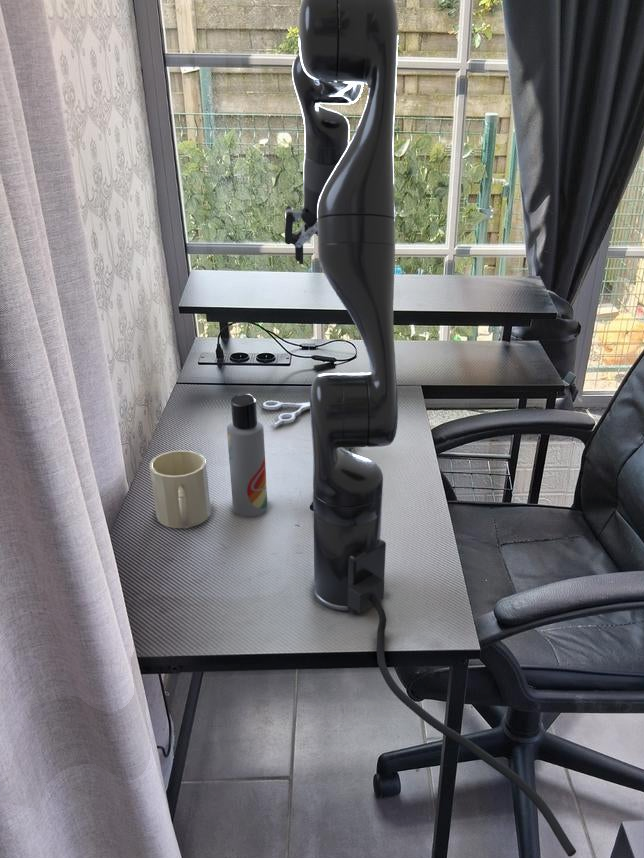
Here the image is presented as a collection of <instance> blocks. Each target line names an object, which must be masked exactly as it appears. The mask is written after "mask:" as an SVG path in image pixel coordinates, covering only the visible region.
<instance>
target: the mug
mask: <svg viewBox="0 0 644 858" xmlns="http://www.w3.org/2000/svg"><path fill="white" fill-rule="evenodd" d="M148 465H149V474H150V481H151V487H152V488H151V489H152V495H153V501H154V502H153V503H154V509H155V516H156V520H157V521H158V523H160V525H162V526H165V527H168V528H171V529H188V528H193V527H196V526H198V525H201V524H203V523H204V522H205V521H207V520H208V519H209V518H210V516H211V500H210V490H209V479H208V470H207V461H206V457H204V456H203V454H201V453H200V452H196V451H193V450H186V449H179V450H169V451H166V452H163V453H160V454H158V455H157V456H154V457H153V458H152V459H151V461H150V462H149V464H148Z"/></svg>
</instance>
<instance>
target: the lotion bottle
mask: <svg viewBox="0 0 644 858" xmlns="http://www.w3.org/2000/svg"><path fill="white" fill-rule="evenodd" d="M230 410H231V420H232V421H231V422H229V423H228V425H227V426H226V436H227V448H228V462H229V473H230V474H229V475H230V487H231V498H232V499H231V500H232V508H233V511H234V512H235V513H236V514H238V515H239V516H241V517H242V516H243V517H256V516H259V515H262V514H263V513H265V512H266V511H267V508H268V489H267V485H268V484H267V466H266V448H265V447H266V445H265V429H264V424H263V423H262V422H260V421H259V420H258V411H257V410H258V408H257V400H256V398H254V396H253V395H252V394H250V393H242V394H238V395H233V397H232V398H231V400H230Z"/></svg>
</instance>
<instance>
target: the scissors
mask: <svg viewBox="0 0 644 858" xmlns="http://www.w3.org/2000/svg"><path fill="white" fill-rule="evenodd" d="M286 407H287V408H288V407H289V408H298V410H296V411H293V412H283V413H281V414H280V415H278V417H277V419H278V420H277V421H276V422H274V423H273V427H274V428H278V427H279V426H280V425H282V424H290V423H293V422H294V421H295V420H296V416H298V415H300V414H301V413H302V412H304V411H306V410H310V401H307V402H296V403H295V402H281V401H278V400H267V401H264V402H263V403H262V408H263V409H264V410H269V411H270V410H272V411H273V410H275V411H276V410H279V409H280V408H286ZM285 418H286V419H285Z"/></svg>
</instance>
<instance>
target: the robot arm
mask: <svg viewBox="0 0 644 858" xmlns="http://www.w3.org/2000/svg"><path fill="white" fill-rule="evenodd" d="M299 9H300V10H299V17H298V47H299V49H298V50H299V53H298V54H297V55H296V57H295V58H294V60H293V63H292V69H291V72H292V73H291V75H292V81H293V85H294V86H293V87H294V90H295V93H296V96H297V100H298V102H299V105H300V110H301V114H302V119H303V125H304V126H303V127H304V159H303V171H302V177H303V207H302V208H301V209H294V208H293V207H292V206H291V205H287V206H286V207H285V218H284V243H285V244H286V245H293V246H294V254H295V256H294V257H295V260H296V262H299V265H304V245H305V243H306V242H307V241H310V240H311V238H312V237H313V236H314V235H316V236H317V256H318V262H319V265H320V268H321V270H322V272H323V275H324V276H325V278H326V280H327V282H328V284H329V285H330V286H331V288H332V290H333V291H334V293H335V295H336V296H337V297H338V299H339V301H340V302H341V304H342V305H343V307H344V309H345V310H346V312H347V313H348V315H349V316H350V318H351V319H352V321H353V323H354V325H355V328H356V330H357V331H358V333H359V335H360V338H361V339H362V341H363V344H364V347H365V350H366V354H367V356H368V361H369V369H370V371H369V372H332V373H327V372H326V373H319V374H318V375H316V376H315V378H314V379H313V380H312V383H311V387H310V392H309V402H310V408H309V415H310V428H311V429H310V430H311V441H312V462H313V463H312V464H313V465H312V466H313V467H312V470H313V471H312V472H313V473H312V489H313V490H312V497H313V500H312V502H313V511H312V512H313V514H312V515H313V570H314V571H313V579H314V580H313V581H314V582H313V595H314V597H315V599H316V600H317V601H318V602H319V603H320V604H321V605H322V606H324V607H326V608H329V609H331V610H335V611H340V612H348V613H350V614H351V615H356V614H357V613H359V614H361V613H363V612H364V611H366V610H367V609H369V608H370V607H372V606H373V607H374V609H375V611H376V613H377V616H378V625H377V629H376V630H377V632H376V662H377V666H378V669H379V671H380V673H381V675H382V678H383V680H384V682H385V683H386V685H387V687H388V688H389V690H390V691H391V692H392V693H393V694H394V696H396V698H397V699H398V700H400V701H401V702H402V703H403V704H404V705H405V706H406V707H407V708H408V709H409V710H411V711H412V712H413V713H414V714H415V715H417V716H418V717H419V718H420V719H421V720H423V721H424V722H425V723H427V724H428V725H429V726H430V727H432V728H433V729H435V730H436V731H438V732H439V733H440V734H442V735H444V736H445V737H446V738H449V739H450V740H452V741H453V742H455V743H456V744H458V745H460V746H461V747H463V748H465V749H466V750H467V751H469V752H470V753H471V754H473V755H475V756H476V757H477V758H478V759H480V760H481V761H483V762H484V763H485V764H487V765H488V766H490V767H491V768H492V769H494V770H496V771H497V772H498V773H500V774H501V775H502V776H504V777H505V778H506V779H508V780H509V781H511V783H512V784H514V785H515V787H517V788H518V789H519V790H520V791H522V793H523V794H524V795H525V796H526V797H527V798H528V799H529V800H530V801H531V802H532V803H533V805H534V806H535V807H536V808H537V809H538V811H539V812H540V813H541V815H542V816H543V818H544V819H545V821H546V822H547V824H548V826H549V827H550V829H551V831H552V833H553V834H554V836H555V838H556V840H557V841H558V843H559V844H560V846H561V847H562V849H563V851H564V852H565V854H566V855H567V857H568V858H571V857H573V856H574V855H576V853H577V849H576V848H575V846H574V845H573V844H572V842H571V841H570V839H569V837H568V836H567V834H566V832H565V831H564V829H563V827H562V826H561V824H560V822H559V821H558V819H557V818H556V816H555V815H554V812H553V811H552V810H551V809H550V807H549V806H548V804H547V803H546V802H545V801H544V799H543V798H542V797H541V796H540V795H539V794H538V793H537V791H536V790H534V788H533V787H532V786H531V785H530V784H529V783H528V782H527V781H526V780H524V778H522V777H521V776H520V775H518V773H516V772H515V771H513V770H512V769H511V768H510V767H508V766H507V765H506V764H504V763H502V761H500V760H499V759H497V758H496V757H494V756H493V755H491V754H490V753H489V752H487V751H486V750H484V749H483V748H482V747H480V746H479V745H477V744H475V743H474V742H473V741H471V740H470V739H469V738H467V737H465V736H464V735H462V734H461V733H459V732H458V731H456V730H454V729H452V728H451V727H449V726H447V725H446V724H444V723H443V722H441V721H440V720H438V719H437V718H435V717H434V716H433V715H432V714H430V713H429V712H428V711H427V710H426V709H424V708H423V707H422V706H420V705H419V704H418V703H417V702H415V701H414V700H413V699H412V698H411V697H410V696H409V695H408V694H406V692H405V691H403V690H402V689H401V687H400V686H399V685H398V684H397V683H396V681H395V680H394V678H393V677H392V675H391V673H390V671H389V669H388V665H387V663H386V657H385V638H386V635H385V632H386V628H387V615H386V611H385V609H384V607H383V604H382V603H381V602H380V601H381V600H383V599H384V598H385V569H386V554H387V553H386V552H387V543H386V541H385V540H383V539H381V537H382V536H381V533H382V513H383V512H382V511H383V489H384V475H383V471H382V469H381V468H380V466H379V465H378V464H377V462H375V461H373V460H371V459H370V458H368V457H365V456H363V455H360V454H357V453H354V452H352V453H351V452H349V451H347V450H345V449H343V448H349V447H355V448H379V447H388V446H390V445H391V444H392V443H393V442H394V440H395V438H396V436H397V430H398V419H399V402H398V382H397V364H396V347H395V325H394V296H395V295H394V293H395V267H396V266H395V265H396V263H395V262H396V261H395V260H396V220H395V219H396V201H395V172H394V171H395V169H394V134H395V133H394V130H395V109H396V108H395V107H396V90H397V70H398V69H397V68H398V67H397V66H398V50H399V49H398V47H399V45H398V43H399V20H398V12H397V6H396V3H395V0H302V1H301V5H300V8H299ZM364 84H366V85H367V88H368V92H367V99H366V104H365V106H364V110H363V113H362V115H361V118H360V120H359V123H358V125H357V126H356V129H355V132H354V134H353V136H352V138H351V140H350V124H349V120H348V119H347V117H346V116H344V115H343V114H342V113H340V112H337V111H334V110H331V109H328V108H325V107H323V106H321V105H320V104H324V105H351V104H354V103H356V102H357V101H358V100H359V98H360V97H361V94H362V92H363V89H364V88H363V87H364ZM299 219H301V220H302V221H303V224H302V225H301V227H300V228H299V230H298V231H297V232H296V233H294V232H293V229H294V228H293V227H294V225H295V224H296V223H298V220H299Z"/></svg>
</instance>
